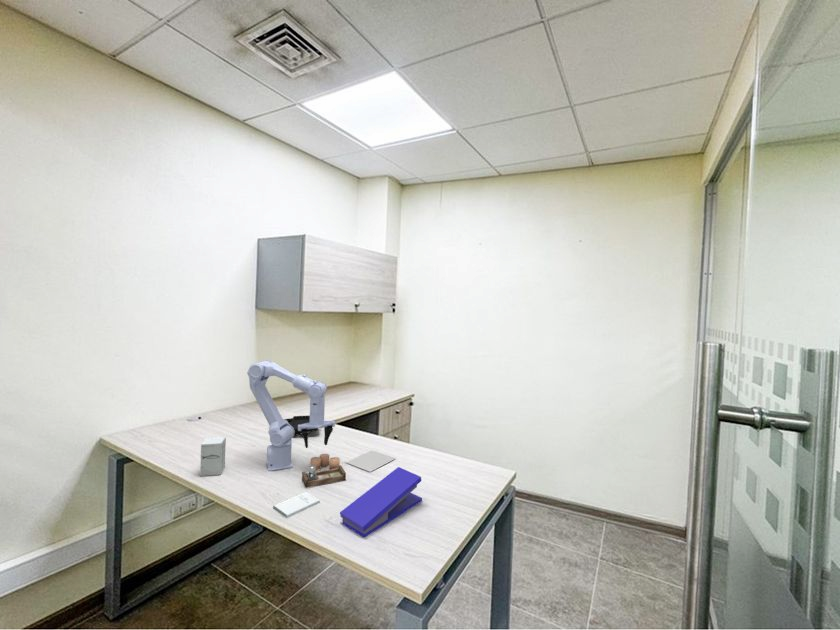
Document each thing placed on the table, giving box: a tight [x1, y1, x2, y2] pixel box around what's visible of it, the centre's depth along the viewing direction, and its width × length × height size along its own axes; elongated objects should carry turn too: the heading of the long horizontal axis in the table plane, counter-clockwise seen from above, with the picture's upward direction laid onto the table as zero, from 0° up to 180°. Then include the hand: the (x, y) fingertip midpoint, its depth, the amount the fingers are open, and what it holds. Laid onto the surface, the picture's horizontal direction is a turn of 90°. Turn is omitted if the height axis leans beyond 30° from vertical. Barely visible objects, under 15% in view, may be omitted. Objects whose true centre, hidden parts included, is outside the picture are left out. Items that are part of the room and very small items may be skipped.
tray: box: [284, 415, 319, 437], centre depth 195 cm, size 30×23×5 cm
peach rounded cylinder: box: [318, 453, 330, 468], centre depth 156 cm, size 4×4×4 cm
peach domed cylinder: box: [328, 456, 340, 470], centre depth 152 cm, size 4×4×4 cm
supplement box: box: [199, 436, 227, 477], centre depth 146 cm, size 7×7×13 cm
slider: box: [305, 465, 318, 481], centre depth 140 cm, size 3×5×5 cm, turn 27°
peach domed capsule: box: [310, 456, 321, 472], centre depth 152 cm, size 4×4×4 cm
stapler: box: [339, 466, 423, 538], centre depth 123 cm, size 12×28×10 cm, turn 141°
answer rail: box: [301, 464, 347, 489], centre depth 143 cm, size 15×7×3 cm, turn 117°
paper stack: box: [345, 449, 397, 473], centre depth 155 cm, size 23×25×1 cm
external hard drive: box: [272, 491, 321, 519], centre depth 125 cm, size 2×8×12 cm
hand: (316, 445), depth 152 cm, fingers open, 7 cm apart
